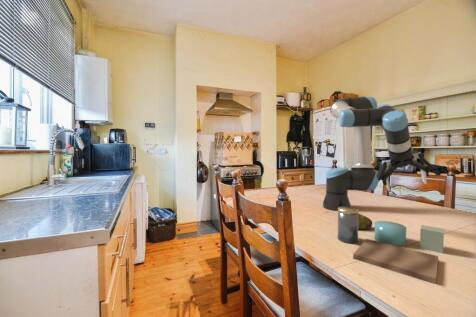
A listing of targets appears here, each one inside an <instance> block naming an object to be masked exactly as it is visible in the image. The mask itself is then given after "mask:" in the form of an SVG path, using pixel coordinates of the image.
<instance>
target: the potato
mask: <svg viewBox="0 0 476 317" xmlns="http://www.w3.org/2000/svg"><path fill="white" fill-rule="evenodd" d="M372 226H373V221H372V220H371V218H369V217H367V216H366V215H363V214H361V213H359V214H358V230H367V229H371V228H372Z"/></svg>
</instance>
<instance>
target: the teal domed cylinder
mask: <svg viewBox="0 0 476 317" xmlns="http://www.w3.org/2000/svg"><path fill="white" fill-rule="evenodd" d="M374 241H378V242H382V243H386V244H390V245H394V246H399V247H404V246H406V245H407V226H405V225H404V224H401V223H398V222H394V221H388V220H385V221H384V220H380V221H379V220H377V221H375V222H374Z"/></svg>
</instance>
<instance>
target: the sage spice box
mask: <svg viewBox="0 0 476 317" xmlns="http://www.w3.org/2000/svg"><path fill="white" fill-rule="evenodd" d="M419 230H420V233H419V234H420V235H419V236H420V237H419V248H420V249H422V250H427V251H430V252H435V253H439V254H444V237H445V236H444V234H445V228H442V227H441V228H440V227H434V226H428V225H424V224H422V225H421V226H420V229H419Z"/></svg>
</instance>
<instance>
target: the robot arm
mask: <svg viewBox="0 0 476 317" xmlns="http://www.w3.org/2000/svg"><path fill="white" fill-rule="evenodd" d="M329 109H330V110H329V112H330V114H331V116H332V117H333V118H334V119H335V118H336V119H338V124H339V127H341V128H353V165H352V166H351V167H350V169H349V168H348V167H334V168H329V169H327V170H326V174H325V175H326V176H325V195H324V196H325V197H324V199H323V201H322V207H323V208H324V209H325V210H331V211H336V212H338V207H341V206H347V207H352V204H351V202H350V199H349V196H348V195H349V194H348V191H359V192H360V191H364V192H370V191H371V192H372V191H374V190H376V188H377V186H378V183H379V182H380V181H382V182H381V183H382V185H384V186H385V187H386V189H387V191H388V192H391V189H390V183H389V180H388V178H389V177H390V176H391V175H392V174H393V172H394V171H395V170H397V169H398V168H403V167H407V166H413V167H415V168H417V169H419V170H420V176H421V181H422V183H423V184H424V185H428V182H427V180H428V179H427V177H429V176H430V175H429V174H430V171H431V170H432V171H433V170H435V166H433V165H432V164H431V163H430V162H429V161H428V160H427V159H426V158H425V157H424V156H423V154H422V152H421V151H420V150H417V151H415V153H413V149H412V144H411V137H410V130H409V129H410V128H409V118H407V116H408V115H407V113H406V112H405V111H402V110H397V109H395V108H394V107H393V106H391V105H390V104H385V103H383V104H381V105H379V106H378V103H377V100H376V99H375V97H373V96H365V95H364V96H356V97H355V96H353V97H343V98H340V99H337V100H335V101H333V103H332V104H331V105H330V108H329ZM371 127H381V129H382V130H383V131H384V134H385V139H386V145H387V149H388V154H389V155H388V156H389V159H388V160H387V159H386V160H385V159H382V160H381V165H380V167H379V169H378V171H377V170H376V169H375V166H373V165H372V145H371V144H372V142H371V138H372V137H371V135H372V134H371V132H372V131H371ZM415 158H416V159H419V160H420V161H421V162H422V163H423V164H422V163H419V162H417V161H415V160H414V159H415Z"/></svg>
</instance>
